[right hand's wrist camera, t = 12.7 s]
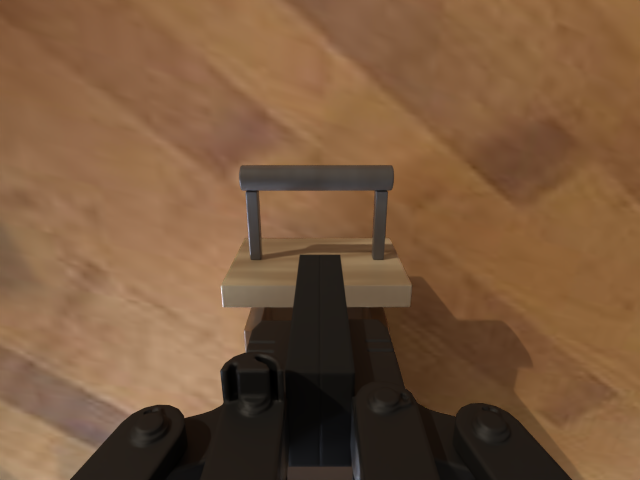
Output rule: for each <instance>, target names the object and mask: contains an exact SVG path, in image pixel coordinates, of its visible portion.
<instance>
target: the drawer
mask: <svg viewBox="0 0 640 480" xmlns="http://www.w3.org/2000/svg"><path fill="white" fill-rule="evenodd" d="M239 181H240V187H241V190H243V191H246V205H247V220H248V235H249V238H245V239H244V241H243V243H242V245H241V247H240V249H239V251H238V253H237V255H236V257H235V259H234V261H233V263H232V265H231V267H230V269H229V271H228V273H227V275H226V277H225V278H224V280H223V282H222V284H221V292H222V302H223V307H251V311H250V314H249V317H248V320H247V323H246V326H245V329H244V337H245V350H247V346H248V344H249V339H250V336H251V332H252V330H253V329H254V328H255V327H256V326H257V325H258V324H259V323H260V322H261V321H262V320H292V312H293V304H294V296H295V288H296V280H297V272H298V264H299V256H300V255H340V256H341V264H342V272H343V280H344V288H345V296H346V304H347V312H348V319H379V320H380V321H381V322H382V323H383V324H384V325H385V326H386V327H387V328H388V331H389V334H390V330H389V326H388V323H387V320H386V316H385V313H384V309H383V307H410V306H411V294H412V284H411V282H410V280H409V277H408V275H407V273H406V271H405V269H404V267H403V265H402V263H401V261H400V259H399V257H398V254H397V252H396V250H395V248H394V246H393V244H392V242H391V240H390V238H385V231H386V215H387V198H388V192H387V190H392V188H393V183H394V170H393V166H392V165H242V166H241V167H240V172H239ZM370 190H375V196H374V217H373V238H261V221H260V204H259V191H370Z"/></svg>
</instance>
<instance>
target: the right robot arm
mask: <svg viewBox="0 0 640 480" xmlns="http://www.w3.org/2000/svg"><path fill="white" fill-rule="evenodd" d="M220 373H221V382H222V391H223V401H224V403H223V405H221V406H220V407H218V408H216V409H214V410H212V411H209V412H206V413H203V414H200V415H196V416H192V417H188V418H184V415H183V414H182V413H181V411H180V410H179V409H177V408H175V407H173V406H170V405H155V406H150V407H146V408H143V409H141V410H139V411H137V412H135V413H133V414H132V415H130V416H129V417H128V418H127V419H126V420H125V421H123V422H122V423H121V424H120V425H119V426H118V428H117V429H116V430H115V431H114V432H113V433H112V434H111V435H110V436H109V437H108V439H107V440H106V441H105V442H104V443H103V444H102V445H101V446H100V447H99V448H98V450H97V451H96V452H95V453H94V454H93V455H92V456H91V457H90V458H89V459H88V461H87V462H86V463H85V464H84V465H83V466H82V467H81V468H80V469H79V471H78V472H77V473H76V474H75V475H74V476H73V477H72V478H71V479H70V480H288V476H287V472H288V466H289V467H351V466H352V470H353V476H352V480H572V479H571V478H570V477H569V476H568V475H567V474H566V472H565V471H564V470H563V469H562V468H561V467H560V466H559V465H558V464H557V463H556V462H555V460H554V459H553V458H552V457H551V456H550V455H549V454H548V453H547V452H546V451H545V449H544V448H543V447H542V446H541V445H540V444H539V443H538V442H537V441H536V440H535V439H534V437H533V436H532V435H531V434H530V433H529V432H528V431H527V430H526V429H525V428H524V426H523V425H522V424H521V423H520V422H519V421H518V420H517V419H515V418H514V417H513V416H512V415H511V414H509V413H508V412H506V411H504V410H502V409H500V408H498V407H496V406H492V405H488V404H484V403H473V404H469V405H466V406H464V407H462V408H461V409H460V410H459V411H458V413H457V414H456V417H455V416H451V415H447V414H443V413H439V412H435V411H432V410H429V409H427V408H425V407H423V406H421V405H420V404H418V403H417V402H416V400H415V398H414V397H413V395H412V393H411V392H409V391H408V390H407V389H406V388H405V386H404V383H403V379H402V376H401V373H400V369H399V366H398V362H397V359H396V355H395V352H394V348H393V345H392V342H391V338H390V334H389V331H388V328H387V327H386V326H385V325H384V324H383V323H382V322H381V321H380V320H379V319H348V312H347V304H346V296H345V288H344V280H343V272H342V264H341V256H340V255H300V256H299V264H298V272H297V280H296V288H295V296H294V304H293V312H292V320H262V321H261V322H260V323H259V324H258V325H257V326H256V327H255V328H254V329H253V330H252V332H251V336H250V339H249V344H248V346H247V350H246V353H243V354H240V355H238V356H235V357H233V358H232V359H230V360H229V361H228V362H226V363H225V364H224V366H223V367H222V369H221V371H220Z"/></svg>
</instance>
